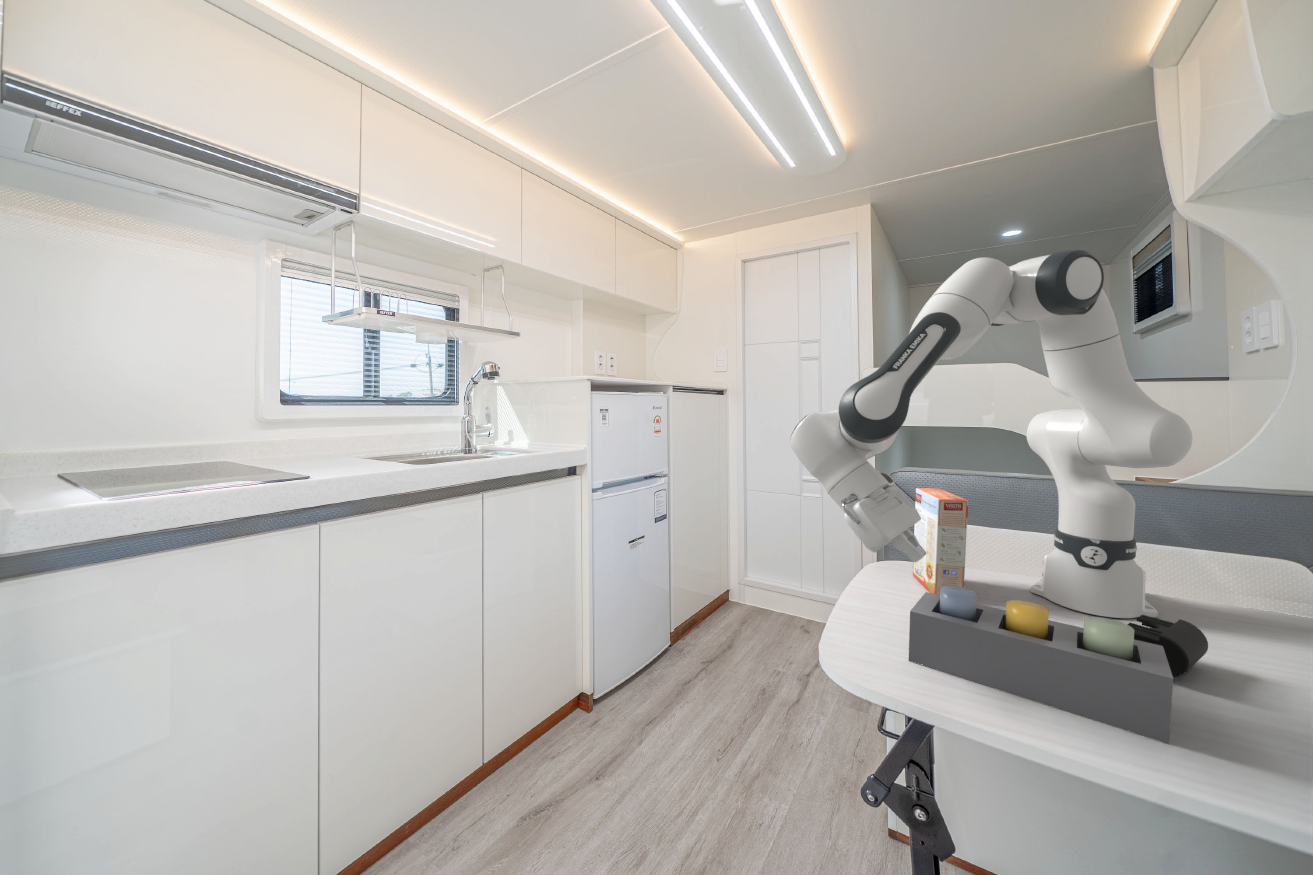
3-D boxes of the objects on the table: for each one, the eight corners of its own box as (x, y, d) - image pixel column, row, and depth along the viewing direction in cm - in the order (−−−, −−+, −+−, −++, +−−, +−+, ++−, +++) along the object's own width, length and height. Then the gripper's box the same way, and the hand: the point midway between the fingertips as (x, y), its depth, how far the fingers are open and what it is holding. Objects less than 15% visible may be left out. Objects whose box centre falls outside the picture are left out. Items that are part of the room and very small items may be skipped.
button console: (924, 637, 83) (925, 591, 82) (1158, 703, 64) (1162, 645, 63) (908, 660, 75) (910, 610, 75) (1168, 743, 57) (1173, 678, 56)
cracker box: (965, 601, 98) (969, 499, 96) (933, 598, 99) (936, 498, 97) (939, 576, 111) (943, 487, 110) (911, 575, 112) (914, 486, 111)
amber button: (1007, 619, 72) (1008, 597, 72) (1048, 629, 69) (1049, 606, 69) (1003, 631, 69) (1004, 607, 69) (1046, 642, 66) (1047, 617, 65)
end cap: (1187, 690, 67) (1190, 643, 67) (1119, 666, 73) (1121, 623, 73) (1207, 670, 72) (1210, 626, 72) (1142, 649, 78) (1144, 609, 78)
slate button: (943, 604, 78) (943, 583, 78) (978, 612, 75) (979, 591, 75) (936, 614, 74) (937, 592, 74) (973, 623, 71) (973, 600, 71)
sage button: (1082, 637, 67) (1084, 613, 67) (1131, 649, 64) (1132, 623, 63) (1082, 651, 63) (1084, 625, 63) (1134, 664, 60) (1135, 637, 60)
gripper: (852, 488, 74) (920, 564, 68) (891, 473, 89) (950, 534, 84) (823, 512, 77) (886, 586, 72) (866, 494, 93) (921, 554, 87)
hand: (921, 558), depth 78 cm, fingers closed
